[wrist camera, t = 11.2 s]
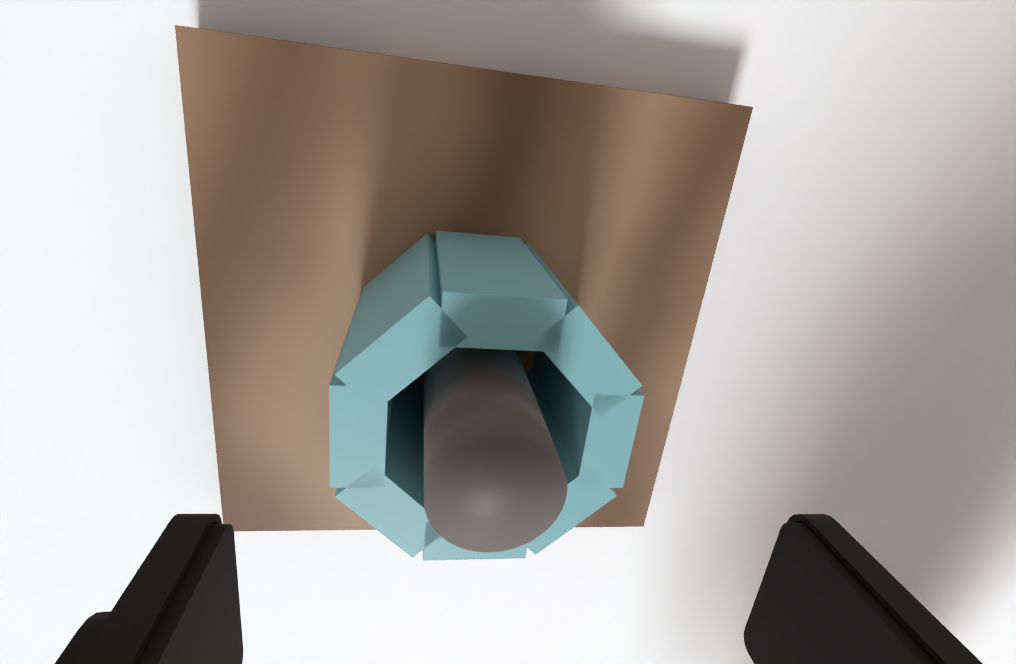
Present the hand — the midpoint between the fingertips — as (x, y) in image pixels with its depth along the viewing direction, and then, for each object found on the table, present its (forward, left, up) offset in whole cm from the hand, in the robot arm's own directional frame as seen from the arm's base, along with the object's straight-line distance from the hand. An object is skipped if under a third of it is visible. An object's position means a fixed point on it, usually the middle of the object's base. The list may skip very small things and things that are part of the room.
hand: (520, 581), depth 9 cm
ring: (0, 0, -10) cm, 10 cm away
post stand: (0, 0, -11) cm, 11 cm away
